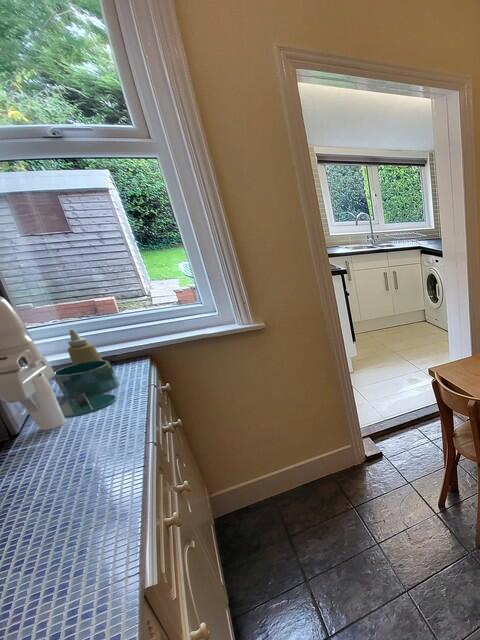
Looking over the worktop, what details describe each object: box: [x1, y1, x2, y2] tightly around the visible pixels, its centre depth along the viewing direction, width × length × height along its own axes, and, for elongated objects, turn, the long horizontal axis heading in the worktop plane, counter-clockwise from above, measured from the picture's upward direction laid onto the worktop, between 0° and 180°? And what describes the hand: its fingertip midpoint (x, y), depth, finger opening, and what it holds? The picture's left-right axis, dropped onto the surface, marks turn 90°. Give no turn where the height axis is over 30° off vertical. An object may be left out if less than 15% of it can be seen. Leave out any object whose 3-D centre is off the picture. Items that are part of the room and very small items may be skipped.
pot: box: [53, 359, 120, 400], centre depth 135 cm, size 13×13×8 cm
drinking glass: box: [22, 373, 68, 431], centre depth 111 cm, size 7×7×15 cm
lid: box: [59, 393, 117, 419], centre depth 124 cm, size 14×14×5 cm
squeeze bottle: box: [67, 329, 103, 365], centre depth 144 cm, size 8×8×18 cm
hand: (42, 404), depth 111 cm, fingers open, 8 cm apart
